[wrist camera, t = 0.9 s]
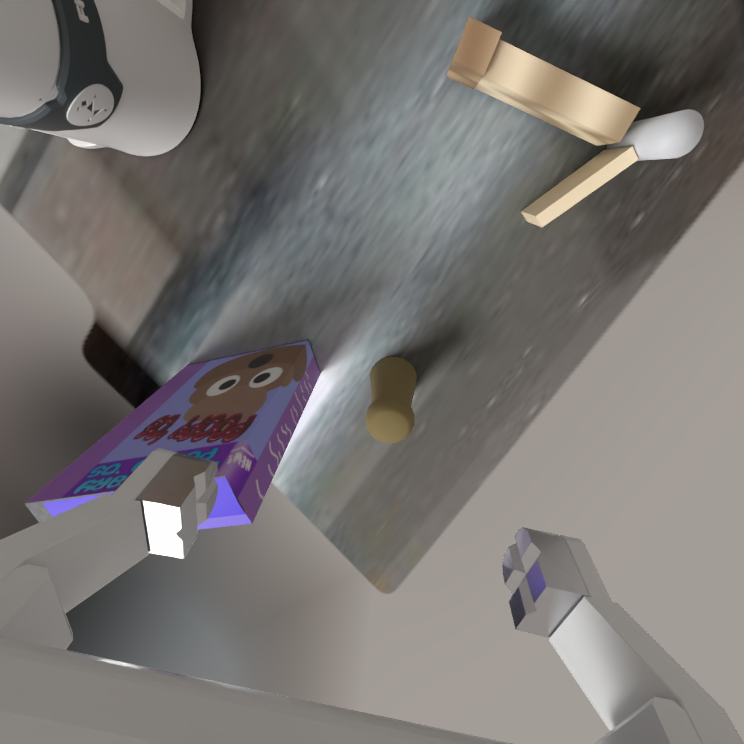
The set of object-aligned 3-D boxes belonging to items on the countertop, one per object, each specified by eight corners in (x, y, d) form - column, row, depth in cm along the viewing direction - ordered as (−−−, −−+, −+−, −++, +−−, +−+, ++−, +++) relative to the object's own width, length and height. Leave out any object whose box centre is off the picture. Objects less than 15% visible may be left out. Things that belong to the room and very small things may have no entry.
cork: (361, 368, 47) (348, 417, 38) (403, 348, 46) (401, 395, 36) (384, 404, 50) (377, 459, 40) (425, 386, 48) (428, 440, 38)
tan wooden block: (615, 114, 32) (648, 104, 28) (596, 147, 34) (625, 142, 29) (460, 39, 31) (469, 16, 26) (446, 76, 32) (452, 60, 28)
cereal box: (308, 339, 46) (223, 477, 25) (320, 372, 48) (250, 525, 27) (187, 365, 50) (22, 505, 28) (203, 395, 52) (60, 546, 31)
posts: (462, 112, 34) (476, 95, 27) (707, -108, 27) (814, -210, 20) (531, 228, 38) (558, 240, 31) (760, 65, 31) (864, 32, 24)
